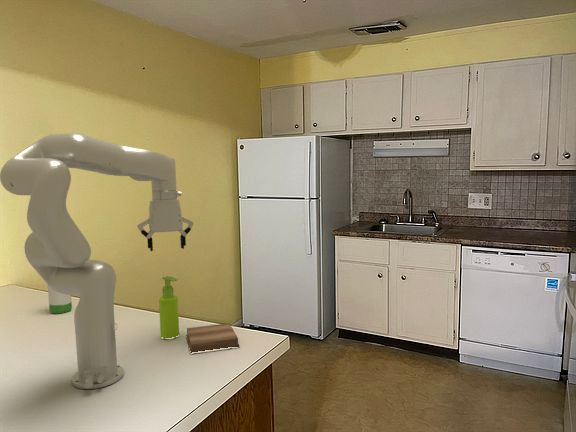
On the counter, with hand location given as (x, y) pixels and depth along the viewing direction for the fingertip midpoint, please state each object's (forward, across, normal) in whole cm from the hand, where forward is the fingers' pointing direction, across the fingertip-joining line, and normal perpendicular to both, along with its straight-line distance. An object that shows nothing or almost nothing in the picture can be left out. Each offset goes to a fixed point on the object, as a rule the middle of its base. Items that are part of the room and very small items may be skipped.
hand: (167, 249), depth 143 cm
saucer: (+29, +22, -15) cm, 39 cm away
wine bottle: (+29, +38, -42) cm, 64 cm away
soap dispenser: (+29, 0, +1) cm, 29 cm away
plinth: (+29, -12, +10) cm, 33 cm away
